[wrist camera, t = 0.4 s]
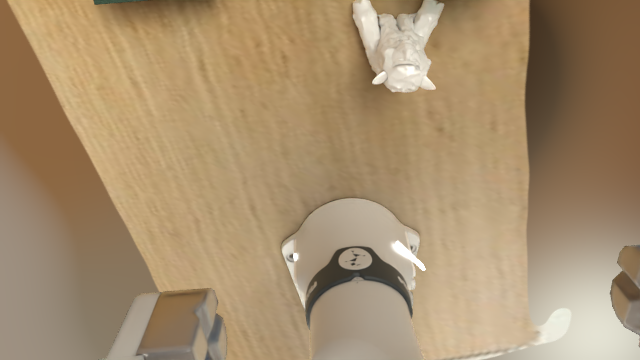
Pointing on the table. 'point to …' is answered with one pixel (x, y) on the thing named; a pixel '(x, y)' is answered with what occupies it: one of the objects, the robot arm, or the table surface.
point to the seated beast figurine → (398, 44)
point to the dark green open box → (113, 1)
